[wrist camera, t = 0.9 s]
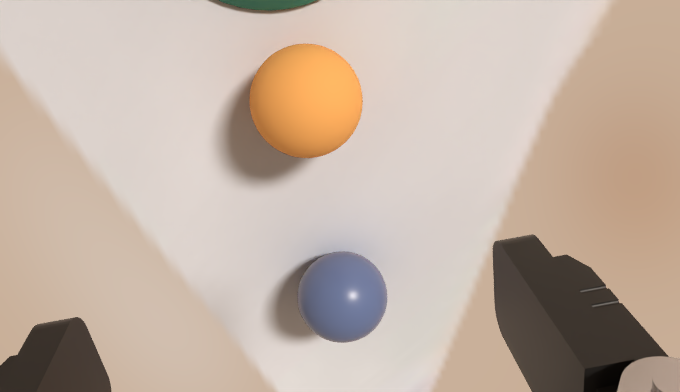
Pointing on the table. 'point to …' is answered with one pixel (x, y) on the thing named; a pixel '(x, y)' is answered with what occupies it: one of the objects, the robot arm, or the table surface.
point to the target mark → (267, 4)
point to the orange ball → (306, 100)
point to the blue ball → (342, 297)
